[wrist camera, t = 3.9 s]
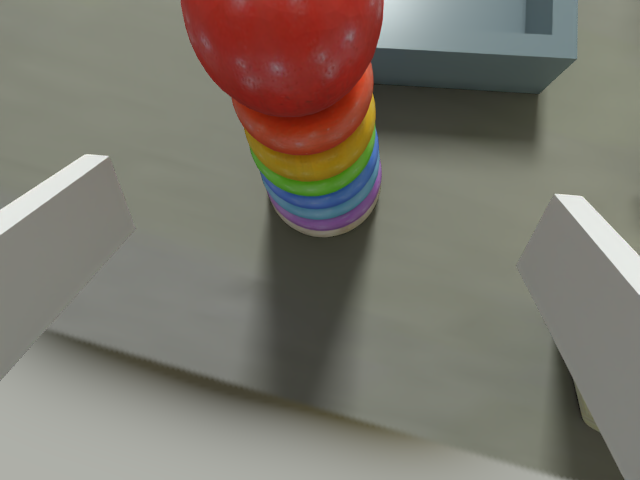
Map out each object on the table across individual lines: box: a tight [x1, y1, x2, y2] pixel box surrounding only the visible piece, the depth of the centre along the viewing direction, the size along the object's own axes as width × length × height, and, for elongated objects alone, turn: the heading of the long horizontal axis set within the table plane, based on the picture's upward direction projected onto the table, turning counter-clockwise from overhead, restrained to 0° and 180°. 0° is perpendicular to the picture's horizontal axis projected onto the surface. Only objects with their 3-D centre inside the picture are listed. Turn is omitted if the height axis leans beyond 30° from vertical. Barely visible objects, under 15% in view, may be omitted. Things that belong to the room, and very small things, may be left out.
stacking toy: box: [181, 0, 384, 237], centre depth 16 cm, size 8×8×19 cm
